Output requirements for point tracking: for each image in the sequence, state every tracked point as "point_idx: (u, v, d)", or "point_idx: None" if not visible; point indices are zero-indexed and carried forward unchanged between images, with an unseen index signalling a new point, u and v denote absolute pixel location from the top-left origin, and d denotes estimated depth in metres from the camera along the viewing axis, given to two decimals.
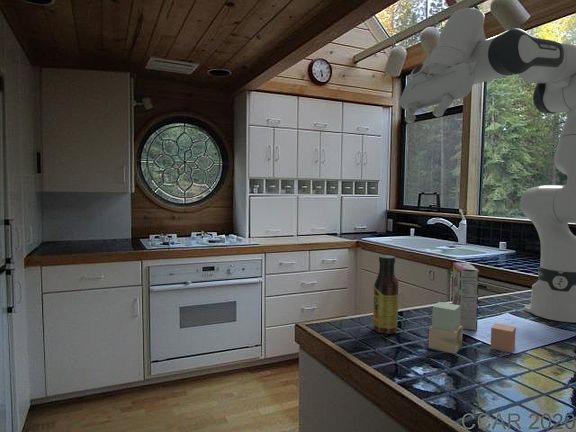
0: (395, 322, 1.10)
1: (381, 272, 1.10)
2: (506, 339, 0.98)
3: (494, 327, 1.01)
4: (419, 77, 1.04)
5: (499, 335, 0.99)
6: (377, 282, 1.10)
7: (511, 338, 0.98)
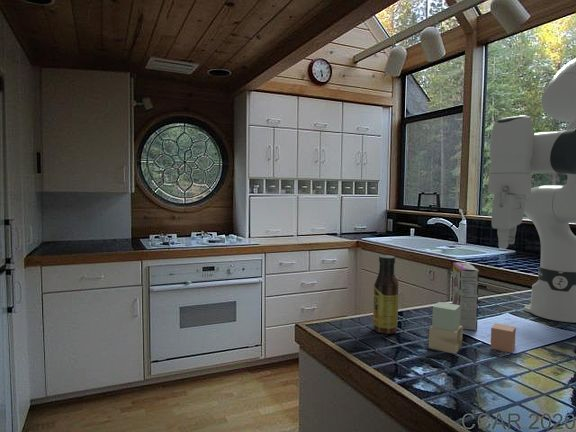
0: (395, 322, 1.10)
1: (381, 272, 1.10)
2: (506, 339, 0.98)
3: (494, 327, 1.01)
4: None
5: (499, 335, 0.99)
6: (377, 282, 1.10)
7: (511, 338, 0.98)
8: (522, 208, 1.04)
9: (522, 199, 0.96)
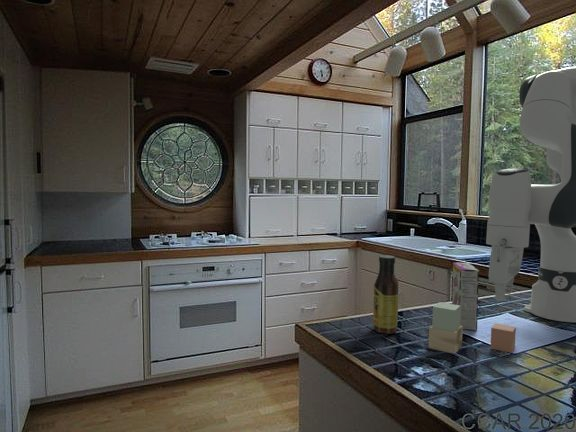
0: (395, 322, 1.10)
1: (381, 272, 1.10)
2: (506, 339, 0.98)
3: (494, 327, 1.01)
4: None
5: (499, 335, 0.99)
6: (377, 282, 1.10)
7: (511, 338, 0.98)
8: (520, 257, 1.05)
9: (520, 252, 0.97)
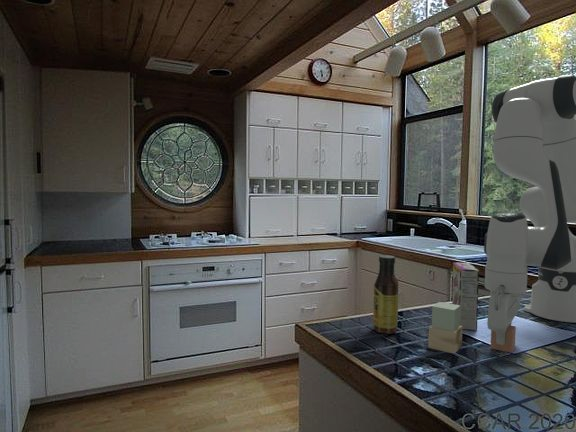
0: (395, 322, 1.10)
1: (381, 272, 1.10)
2: (506, 339, 0.98)
3: None
4: None
5: None
6: (377, 282, 1.10)
7: (511, 338, 0.98)
8: (518, 298, 1.06)
9: (518, 297, 0.98)
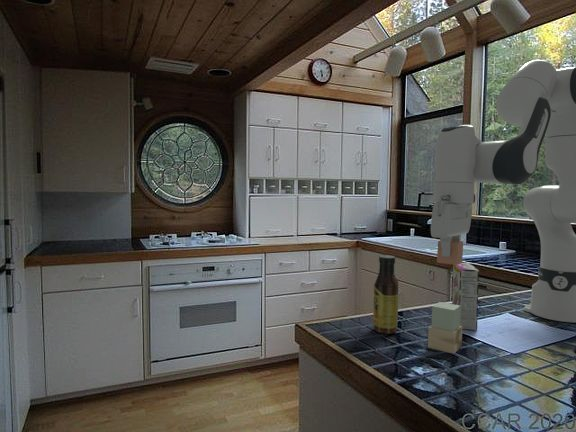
0: (395, 322, 1.10)
1: (381, 272, 1.10)
2: (452, 251, 0.97)
3: None
4: None
5: None
6: (377, 282, 1.10)
7: (457, 250, 0.96)
8: (469, 217, 1.04)
9: (464, 208, 0.96)
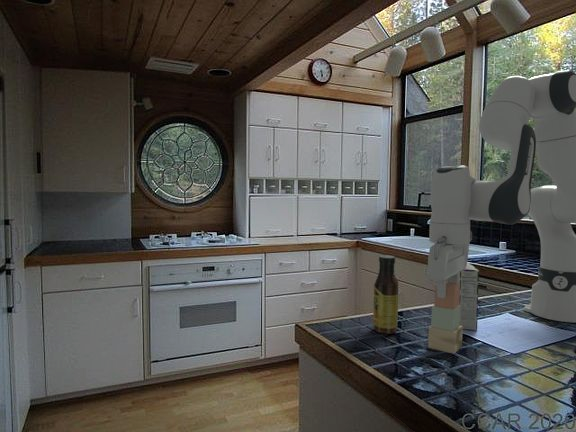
0: (395, 322, 1.10)
1: (381, 272, 1.10)
2: (449, 296, 0.98)
3: None
4: None
5: None
6: (377, 282, 1.10)
7: (453, 294, 0.97)
8: (465, 254, 1.05)
9: (460, 249, 0.97)
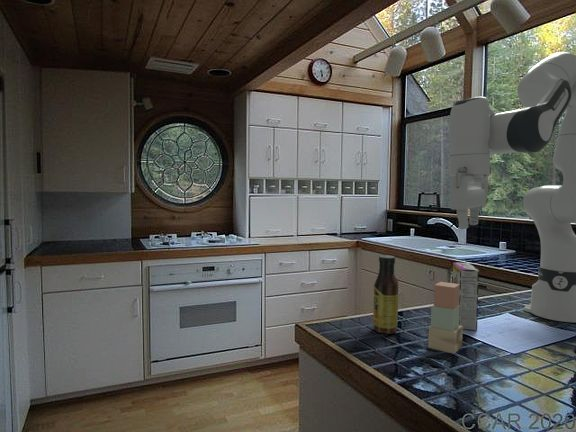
0: (395, 322, 1.10)
1: (381, 272, 1.10)
2: (448, 295, 0.98)
3: (437, 284, 1.00)
4: None
5: (441, 292, 0.99)
6: (377, 282, 1.10)
7: (453, 294, 0.97)
8: (485, 189, 1.05)
9: (481, 180, 0.97)
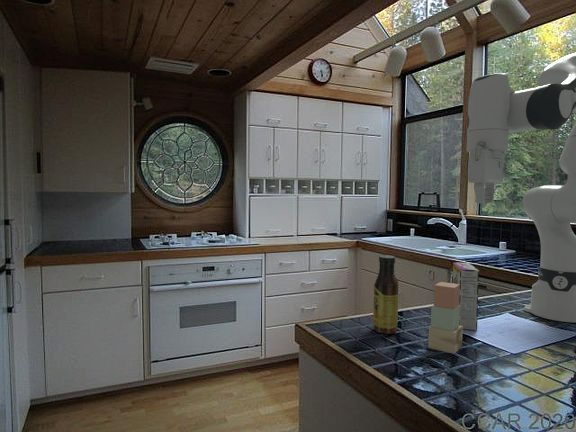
0: (395, 322, 1.10)
1: (381, 272, 1.10)
2: (448, 296, 0.98)
3: (437, 284, 1.00)
4: None
5: (441, 292, 0.99)
6: (377, 282, 1.10)
7: (453, 294, 0.97)
8: (501, 168, 1.06)
9: (499, 155, 0.98)
